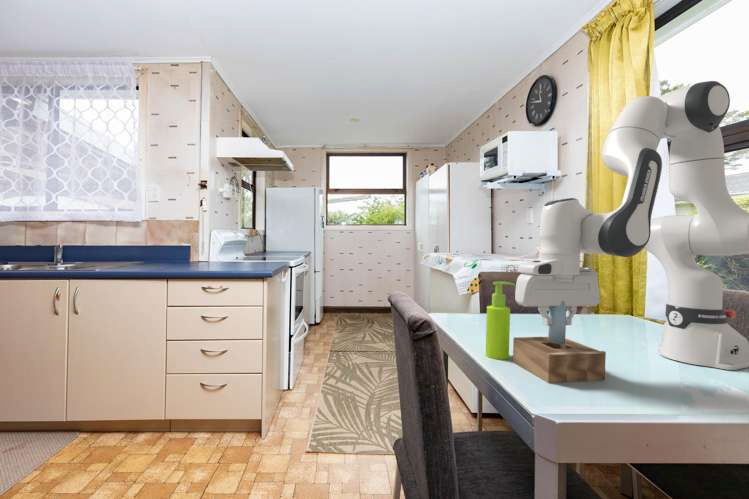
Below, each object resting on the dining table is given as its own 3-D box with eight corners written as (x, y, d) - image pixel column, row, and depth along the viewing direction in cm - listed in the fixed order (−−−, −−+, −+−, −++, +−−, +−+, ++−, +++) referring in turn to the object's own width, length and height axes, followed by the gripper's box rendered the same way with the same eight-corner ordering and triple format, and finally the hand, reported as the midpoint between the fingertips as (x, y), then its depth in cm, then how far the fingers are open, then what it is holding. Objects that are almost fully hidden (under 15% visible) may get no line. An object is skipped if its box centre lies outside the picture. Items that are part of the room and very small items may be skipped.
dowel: (558, 340, 89) (559, 299, 89) (568, 344, 85) (570, 301, 85) (545, 340, 88) (546, 299, 88) (554, 344, 85) (556, 301, 85)
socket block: (562, 360, 95) (562, 336, 95) (604, 380, 81) (605, 351, 81) (512, 362, 93) (513, 337, 93) (548, 382, 79) (549, 353, 79)
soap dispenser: (514, 360, 94) (516, 283, 94) (486, 358, 95) (488, 282, 95) (511, 354, 100) (512, 281, 99) (484, 352, 101) (486, 280, 101)
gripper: (587, 266, 92) (585, 321, 92) (512, 265, 88) (510, 322, 88) (607, 268, 85) (605, 327, 86) (527, 266, 82) (526, 328, 82)
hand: (556, 324), depth 87 cm, fingers closed on dowel, 4 cm apart
